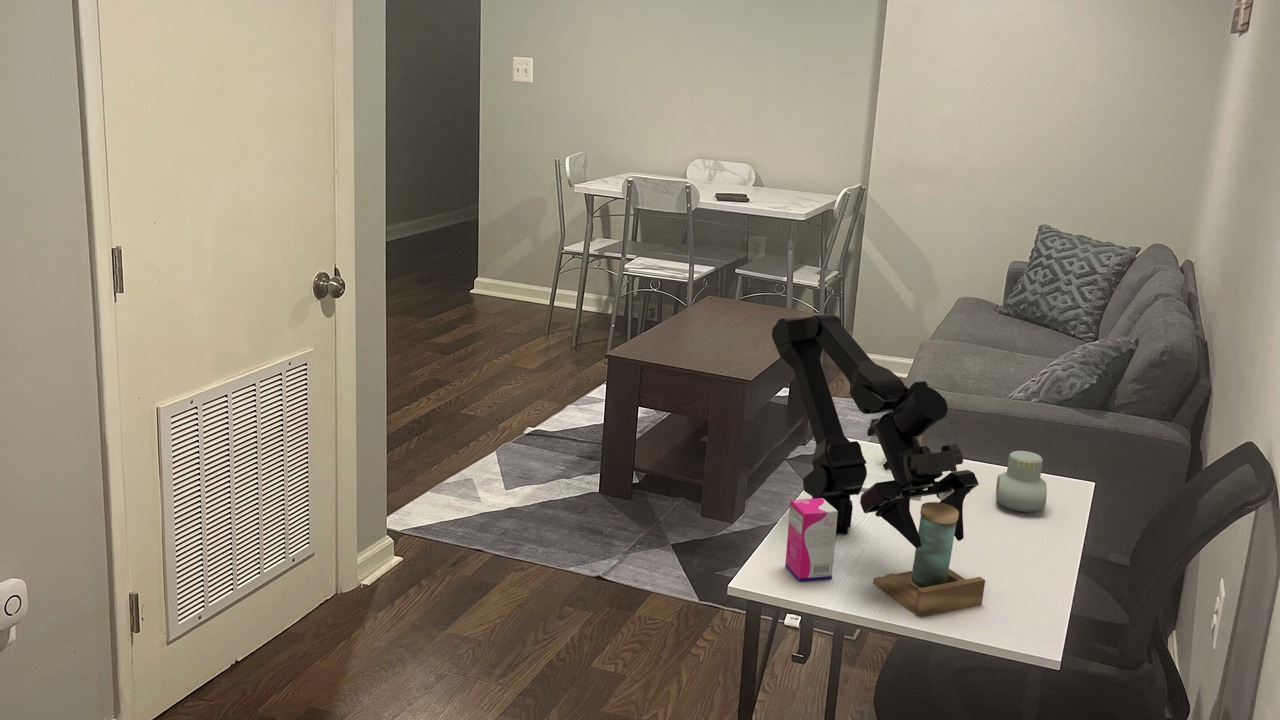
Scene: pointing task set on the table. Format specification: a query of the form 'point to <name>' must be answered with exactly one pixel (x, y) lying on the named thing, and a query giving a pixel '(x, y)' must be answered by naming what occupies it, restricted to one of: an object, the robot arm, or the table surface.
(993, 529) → the table surface
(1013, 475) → the air freshener
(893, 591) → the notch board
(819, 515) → the supplement box
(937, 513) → the oak spool
